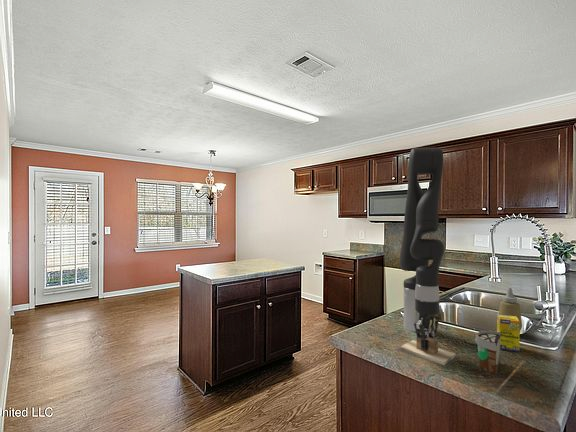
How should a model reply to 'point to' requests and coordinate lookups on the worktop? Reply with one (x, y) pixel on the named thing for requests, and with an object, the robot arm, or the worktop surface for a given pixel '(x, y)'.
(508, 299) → the squeeze bottle
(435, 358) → the lid
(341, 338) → the worktop surface
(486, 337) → the food container
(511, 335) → the supplement box
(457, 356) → the mat
